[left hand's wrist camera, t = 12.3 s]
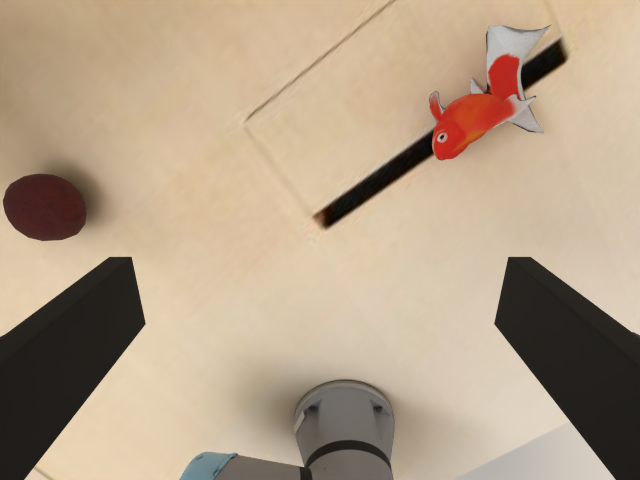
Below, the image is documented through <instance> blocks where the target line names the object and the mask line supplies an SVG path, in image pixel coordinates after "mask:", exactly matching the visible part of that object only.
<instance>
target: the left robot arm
mask: <svg viewBox="0 0 640 480" xmlns="http://www.w3.org/2000/svg"><path fill="white" fill-rule="evenodd" d="M145 324H146V323H145V319H144V314H143V309H142V304H141V300H140V295H139V290H138V285H137V281H136V276H135V271H134V266H133V262H132V257H109V258H108V259H106V260H105V261H103V262H102V263H101V264H99V265H98V266H97V267H95V268H94V269H93V270H91V271H90V272H89V273H87V274H86V275H85V276H83V277H82V278H81V279H79V280H78V281H77V282H75V283H74V284H73V285H71V286H70V287H69V288H67V289H66V290H64V291H63V292H62V293H60V294H59V295H58V296H56V297H55V298H54V299H52V300H51V301H50V302H48V303H47V304H46V305H44V306H43V307H42V308H40V309H39V310H38V311H36V312H35V313H34V314H32V315H31V316H30V317H28V318H27V319H25V320H24V321H23V322H21V323H20V324H19V325H17V326H16V327H15V328H13V329H12V330H11V331H9V332H8V333H7V334H5V335H3V336H1V337H0V480H24V479H25V478H26V477H27V475H28V474H29V473H30V471H31V470H32V469H33V468H34V466H35V465H36V464H37V463H38V461H39V460H40V459H41V457H42V456H43V455H44V454H45V452H46V451H47V450H48V448H49V447H50V446H51V445H52V443H53V442H54V441H55V439H56V438H57V437H58V436H59V434H60V433H61V432H62V430H63V429H64V428H65V427H66V425H67V424H68V423H69V422H70V420H71V419H72V418H73V416H74V415H75V414H76V413H77V411H78V410H79V409H80V407H81V406H82V405H83V404H84V402H85V401H86V400H87V398H88V397H89V396H90V395H91V393H92V392H93V391H94V389H95V388H96V387H97V386H98V384H99V383H100V382H101V380H102V379H103V378H104V377H105V375H106V374H107V373H108V372H109V370H110V369H111V368H112V366H113V365H114V364H115V363H116V361H117V360H118V359H119V357H120V356H121V355H122V354H123V352H124V351H125V350H126V348H127V347H128V346H129V345H130V343H131V342H132V341H133V339H134V338H135V337H136V336H137V334H138V333H139V332H140V331H141V329H142V328H143V327H144V325H145ZM494 324H495V325H496V327H497V328H498V329H499V331H500V332H501V333H502V334H503V336H504V337H505V338H506V339H507V341H508V342H509V343H510V345H511V346H512V347H513V348H514V350H515V351H516V352H517V354H518V355H519V356H520V357H521V359H522V360H523V361H524V363H525V364H526V365H527V366H528V368H529V369H530V370H531V372H532V373H533V374H534V375H535V377H536V378H537V379H538V380H539V382H540V383H541V384H542V386H543V387H544V388H545V389H546V391H547V392H548V393H549V395H550V396H551V397H552V398H553V400H554V401H555V402H556V404H557V405H558V406H559V407H560V409H561V410H562V411H563V413H564V414H565V415H566V416H567V418H568V419H569V420H570V422H571V423H572V424H573V425H574V427H575V428H576V429H577V430H578V432H579V433H580V434H581V436H582V437H583V438H584V439H585V441H586V442H587V443H588V445H589V446H590V447H591V448H592V450H593V451H594V452H595V454H596V455H597V456H598V457H599V459H600V460H601V461H602V462H603V464H604V465H605V466H606V468H607V469H608V470H609V471H610V473H611V474H612V475H613V477H614V478H615V479H616V480H640V335H638V334H636V333H634V332H631V331H629V330H628V329H627V328H625V327H624V326H623V325H621V324H620V323H619V322H617V321H616V320H615V319H613V318H612V317H610V316H609V315H608V314H606V313H605V312H604V311H602V310H601V309H600V308H598V307H597V306H596V305H594V304H593V303H592V302H590V301H589V300H588V299H586V298H585V297H584V296H582V295H581V294H580V293H578V292H577V291H576V290H574V289H573V288H571V287H570V286H569V285H567V284H566V283H565V282H563V281H562V280H561V279H559V278H558V277H557V276H555V275H554V274H553V273H551V272H550V271H549V270H547V269H546V268H545V267H543V266H542V265H541V264H539V263H538V262H537V261H535V260H534V259H532V258H531V257H508V262H507V266H506V271H505V276H504V281H503V285H502V290H501V295H500V300H499V304H498V309H497V314H496V319H495V323H494ZM293 429H294V434H295V436H296V439H297V443H298V446H299V450H300V453H301V456H302V460H303V463H304V467H299V466H295V465H289V464H283V463H277V462H272V461H266V460H261V459H256V458H251V457H245V456H240V455H238V454H237V453H232V454H223V453H215V452H204V453H201V454H199V455H198V456H196V457H195V458H194V459H193V460H192V461H191V462H190V464H189V465H188V466H187V468H186V469H185V471H184V473H183V474H182V476H181V478H180V480H394V479H393V474H392V470H391V465H390V459H391V451H392V444H393V437H394V429H395V426H394V416H393V412H392V408H391V405H390V403H389V401H388V400H387V398H386V397H385V396H384V395H383V394H382V393H381V392H380V391H378V390H377V389H375V388H374V387H372V386H370V385H367V384H365V383H361V382H357V381H348V380H342V381H333V382H329V383H325V384H322V385H320V386H318V387H316V388H314V389H312V390H311V391H310V392H308V393H307V394H306V395H305V396H304V397H303V398H302V399H301V401H300V402H299V404H298V406H297V409H296V412H295V421H294V428H293Z"/></svg>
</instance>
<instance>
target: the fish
mask: <svg viewBox="0 0 640 480" xmlns="http://www.w3.org/2000/svg"><path fill="white" fill-rule="evenodd" d="M551 25H552V24H551ZM551 25H549V26H547V27H545V28H543V29H538V30H518V29H514V28H510V27H506V26H489V28H488V31H487V34H486V43H487V91H488V93H489V94H484V93H483V91H482V90H481V89H480V88H479V86H478V85H477V84H476V82H475V81H474V80H473V78H471V85H470V89H471V94H469V95H466V96H463V97H461V98H459V99H457V100H455V101H453V102H452V103H451V104H450V105H449V106H448V107H447V108H446V109H444V108H442V107H441V105H440V102H439V93H438V92H437V91H435V92H433V93H432V94H431V95H430V97H429V102H430V110H431V112H432V114H433V116H434V117H435V119H436V120H437V121H438V122H437V125H436V127H435V129H434V134H433V139H432V148H433V151H434V154H435V156H436V157H437V159H438V160H441V161H442V160H445V159H453V158H455V157H456V156H458V155H459V154H460V153H461V152H463V151H464V150H465V148H466V147H467V146H468V145H469V144H470V143H472V142H473V141H475V140H477V139H479V138H480V137H482V136H483V135H484V134H485V133H486V132H487V131H489V130H491V129H493V128H495V127H496V126H498V125H500V124H502V123H504V122H506V121H509V122H511V123H513V124H515V125H517V126H519V127H521V128H523V129H525V130H527V131H529V132H538V133H544V132H543V131H542V129H541V127H540V126H539V124H538V123H537V121H536V120H535V118H534V115H533V113H532V111H531V109H530V107H529V104H530V103H531V102H532V101H533V100H534V99H535V97H536V96H533V97H531V98H529V99H527V100H526V98H525V95H524V91H523V88H522V85H521V77H520V74H521V67H522V64H523V61H524V59H525V58H526V56H527V55H528V53H529V52H530V51H531V50H532V48H533V47H534V46H535V44H536V43H537V42H538V41H539V39H540V38H541V37H542V36H543V34H544V33H545V32H546V31H547V29H548V28H549V27H550V26H551Z"/></svg>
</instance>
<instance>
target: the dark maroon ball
mask: <svg viewBox="0 0 640 480" xmlns="http://www.w3.org/2000/svg"><path fill="white" fill-rule="evenodd" d="M3 206H4V210H5V213H6V216H7V218H8V220H9V221H10V223H11V224H12V225H13V226H14V228H15V229H16V230H18V231H19V232H21V233H22V234H24V235H25V236H27V237H28V238H32V239H37V240H41V241H51V240H63V239H66V238H69V237H71V236H74V235H76V234H78V233H79V232H80V230H81V229H82V228H83V226H84V225H85V220H86V209H85V203H84V201H83V199H82V197H81V195H80V193H79V191H78V190H77V189H76V188H75V187H74V186H73V185H72V184H70V183H69V182H67V181H66V180H64V179H62V178H60V177H57V176H54V175H48V174H34V175H29V176H24V177H22V178H20V179H18V180H17V181H15V182H13V183H12V184H10V186H9V187H8V188H7V190H6V192H5V196H4V199H3Z"/></svg>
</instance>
